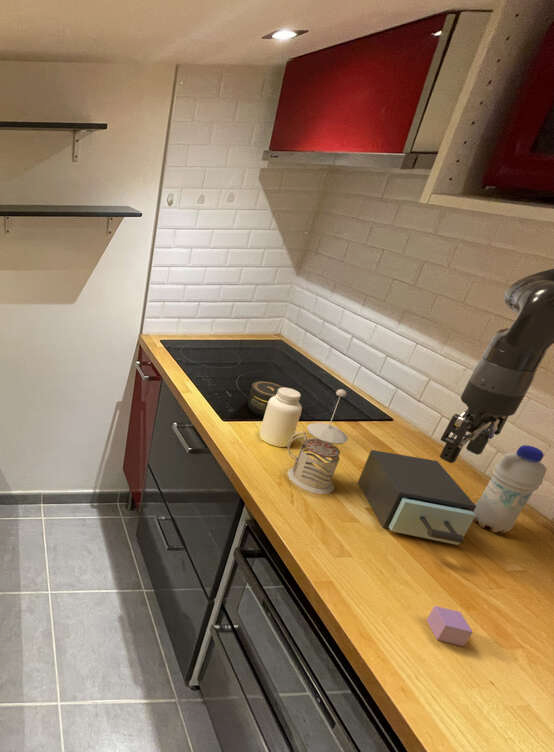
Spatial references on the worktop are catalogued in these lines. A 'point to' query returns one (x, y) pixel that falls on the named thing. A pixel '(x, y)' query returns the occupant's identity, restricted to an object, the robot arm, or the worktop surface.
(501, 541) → the worktop surface
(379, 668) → the worktop surface
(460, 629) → the block
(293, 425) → the pill bottle
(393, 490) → the drawer cabinet casing
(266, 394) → the jar
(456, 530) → the light blue drawer
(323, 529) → the worktop surface
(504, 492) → the bottle
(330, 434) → the french press
